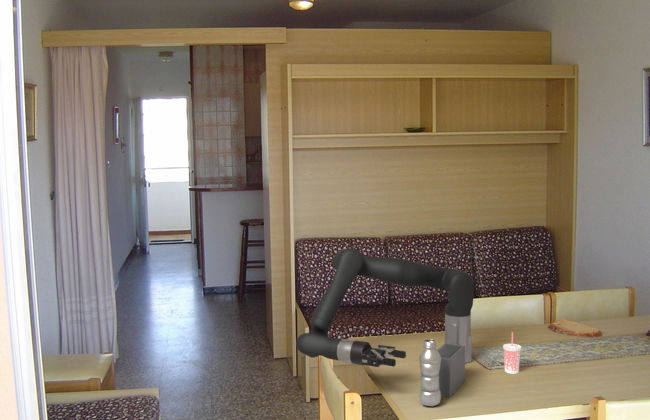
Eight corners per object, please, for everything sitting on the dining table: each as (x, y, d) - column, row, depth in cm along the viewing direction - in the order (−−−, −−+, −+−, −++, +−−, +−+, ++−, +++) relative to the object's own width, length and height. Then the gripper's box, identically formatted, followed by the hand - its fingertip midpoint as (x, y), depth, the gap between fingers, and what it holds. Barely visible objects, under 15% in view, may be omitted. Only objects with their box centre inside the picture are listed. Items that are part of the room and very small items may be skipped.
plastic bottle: (416, 401, 206) (416, 338, 204) (438, 400, 207) (438, 337, 205) (421, 409, 200) (421, 344, 198) (443, 408, 200) (443, 343, 198)
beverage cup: (511, 375, 227) (512, 335, 226) (498, 370, 232) (499, 331, 231) (524, 372, 230) (525, 333, 228) (511, 367, 235) (512, 328, 234)
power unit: (464, 380, 223) (465, 345, 222) (450, 397, 209) (450, 359, 208) (443, 377, 226) (443, 342, 225) (427, 393, 212) (427, 355, 211)
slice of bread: (604, 337, 270) (605, 328, 269) (561, 338, 269) (561, 329, 268) (585, 325, 287) (586, 317, 287) (544, 326, 287) (544, 318, 286)
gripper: (344, 346, 210) (391, 353, 202) (363, 334, 223) (408, 341, 215) (344, 369, 211) (391, 377, 203) (363, 356, 223) (408, 363, 216)
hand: (400, 358), depth 209 cm, fingers open, 8 cm apart
